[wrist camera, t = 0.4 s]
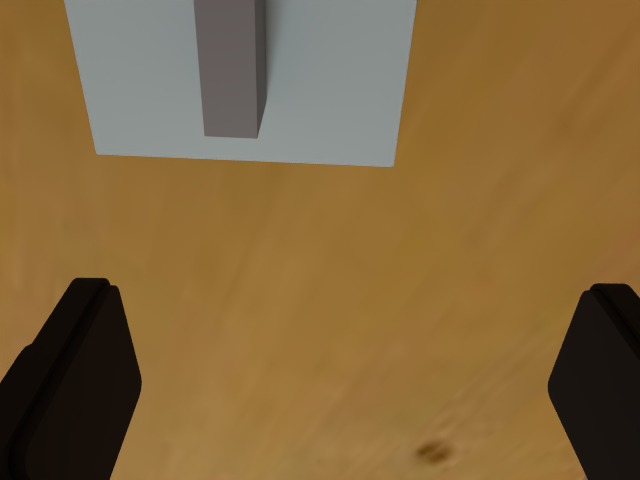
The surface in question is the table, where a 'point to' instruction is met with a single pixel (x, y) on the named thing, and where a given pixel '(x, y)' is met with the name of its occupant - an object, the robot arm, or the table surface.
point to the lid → (244, 78)
